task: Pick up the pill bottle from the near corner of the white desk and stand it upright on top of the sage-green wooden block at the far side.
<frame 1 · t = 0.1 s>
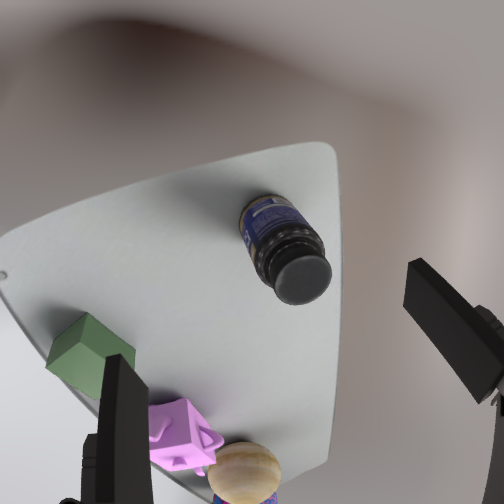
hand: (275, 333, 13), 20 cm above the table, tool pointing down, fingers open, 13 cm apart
ceramic pot: (239, 476, 71), on the table
decorative ball: (237, 444, 58), on the table
block: (93, 345, 36), on the table
teapot: (174, 411, 47), on the table
pill bottle: (267, 219, 33), on the table
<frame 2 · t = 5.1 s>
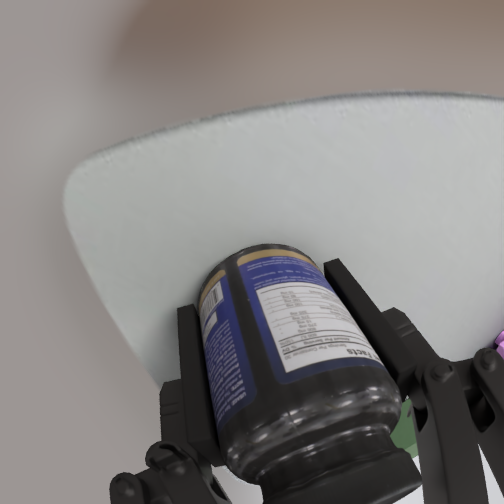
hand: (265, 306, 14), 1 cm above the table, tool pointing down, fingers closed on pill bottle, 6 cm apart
block: (384, 426, 30), on the table
pill bottle: (259, 291, 15), on the table, touching gripper
when the fingers open (6 cm above the table, at t = 11.5 s): pill bottle stays where it is, resting on block.
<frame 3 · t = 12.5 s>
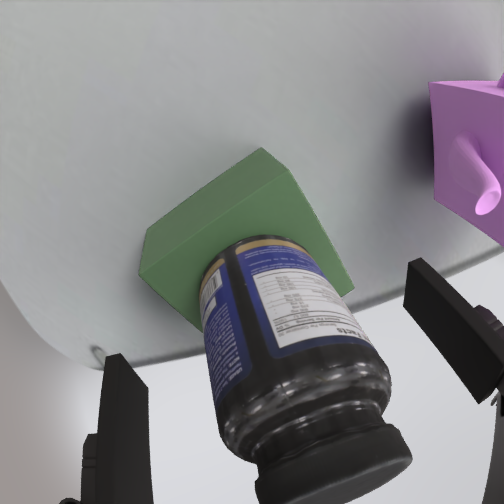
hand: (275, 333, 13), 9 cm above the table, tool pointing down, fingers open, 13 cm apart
block: (240, 238, 20), on the table
teapot: (462, 129, 19), on the table
pill bottle: (257, 281, 16), point 5 cm above the table, touching block
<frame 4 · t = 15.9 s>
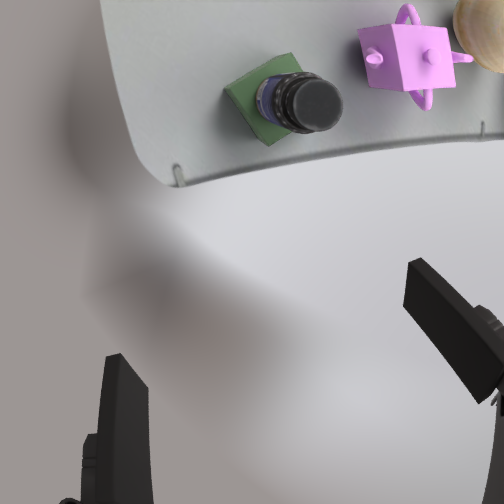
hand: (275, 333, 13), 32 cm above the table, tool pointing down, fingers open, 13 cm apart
decorative ball: (462, 30, 34), on the table
block: (268, 97, 37), on the table
teapot: (385, 56, 36), on the table
pill bottle: (279, 98, 33), point 5 cm above the table, touching block
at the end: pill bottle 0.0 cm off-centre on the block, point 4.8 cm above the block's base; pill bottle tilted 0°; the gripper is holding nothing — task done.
